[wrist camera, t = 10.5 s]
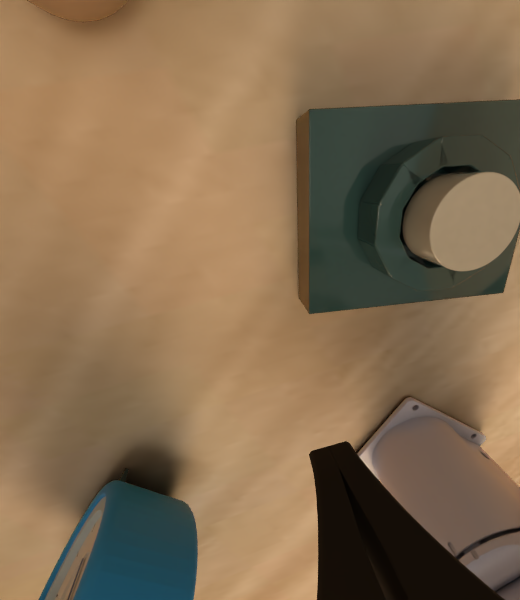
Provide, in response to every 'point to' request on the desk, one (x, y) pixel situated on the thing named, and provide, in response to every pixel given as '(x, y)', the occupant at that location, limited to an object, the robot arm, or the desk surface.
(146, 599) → the alarm clock
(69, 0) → the copper metal bottle
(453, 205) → the cream cylinder plug
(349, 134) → the button base
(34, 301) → the desk surface
